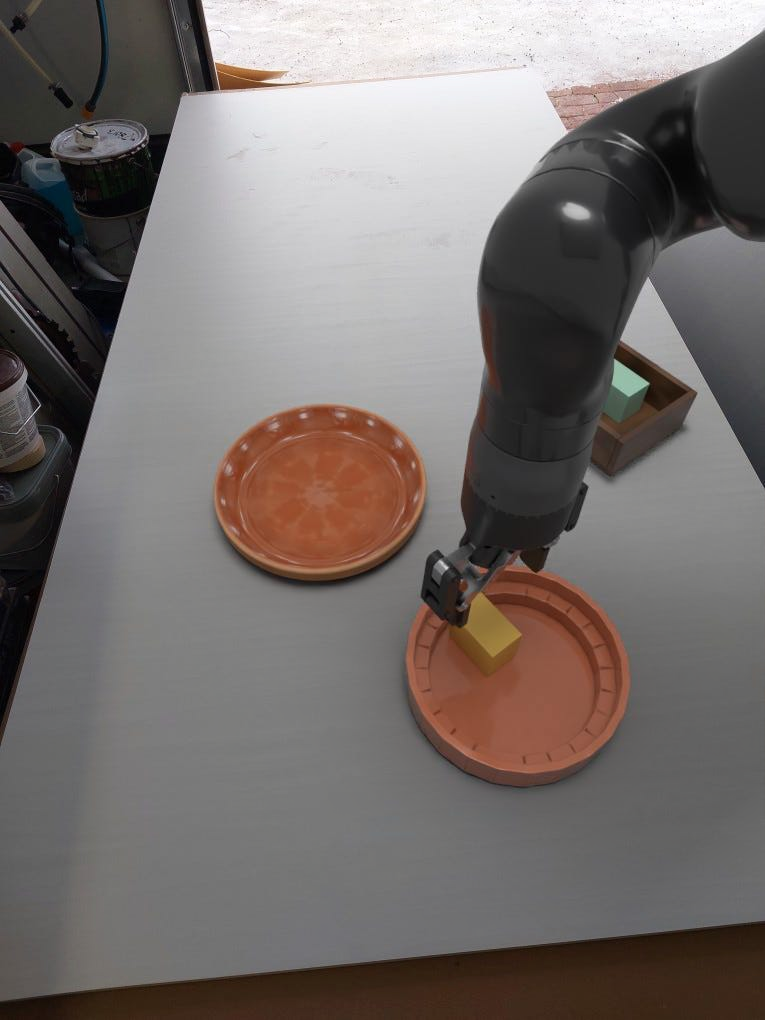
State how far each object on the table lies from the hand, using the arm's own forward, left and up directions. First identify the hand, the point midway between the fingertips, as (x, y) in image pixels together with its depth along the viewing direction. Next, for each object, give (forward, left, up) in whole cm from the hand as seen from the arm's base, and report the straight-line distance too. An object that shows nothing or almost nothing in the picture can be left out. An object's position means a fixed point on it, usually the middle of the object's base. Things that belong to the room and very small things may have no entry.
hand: (493, 590), depth 58 cm
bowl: (-4, 0, -11) cm, 11 cm away
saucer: (+24, +2, -11) cm, 26 cm away
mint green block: (+14, -34, -10) cm, 38 cm away
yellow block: (0, 0, -10) cm, 10 cm away
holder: (+14, -32, -11) cm, 36 cm away
